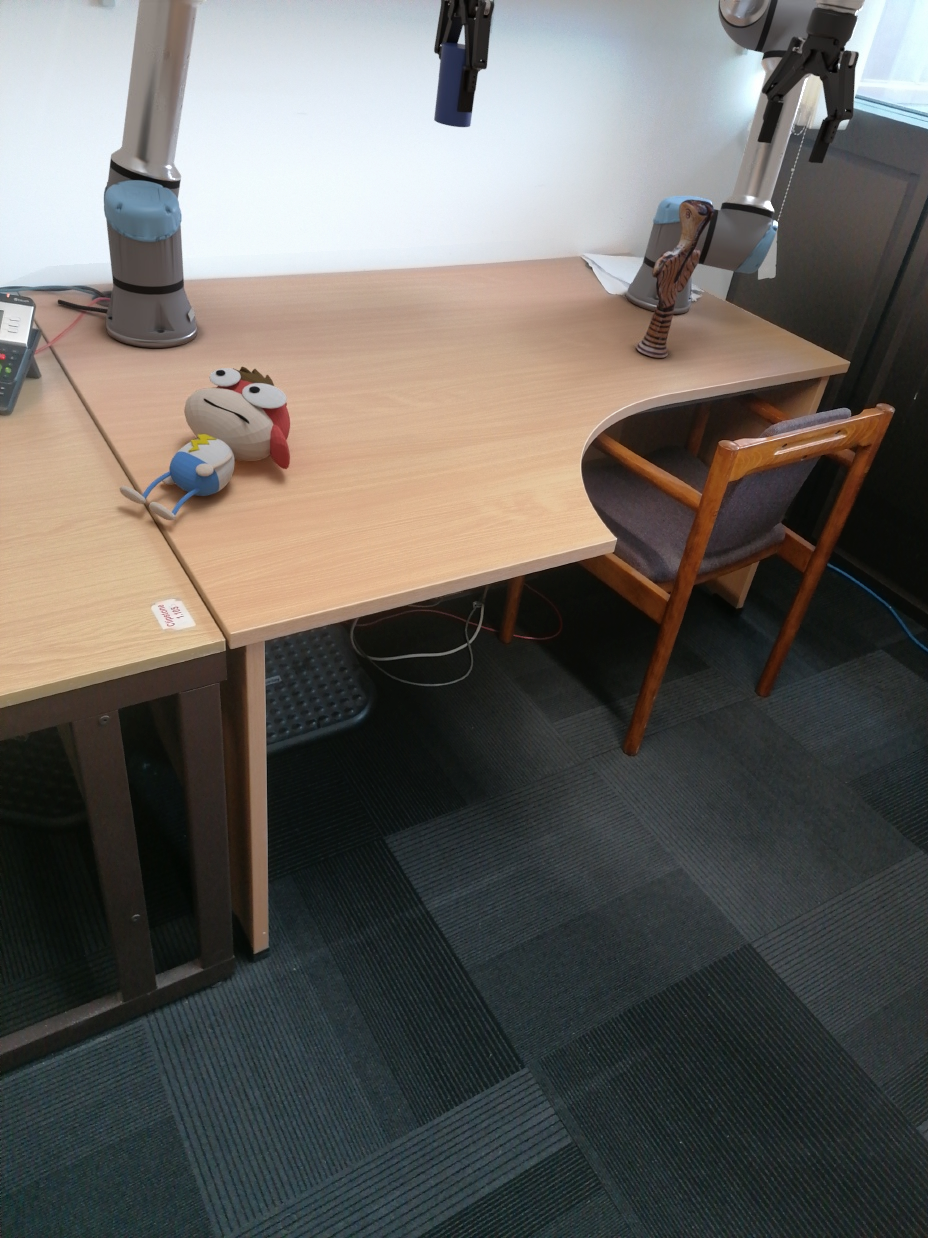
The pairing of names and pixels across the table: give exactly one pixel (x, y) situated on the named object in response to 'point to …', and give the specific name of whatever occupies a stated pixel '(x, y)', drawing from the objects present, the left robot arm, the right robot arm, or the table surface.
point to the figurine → (675, 274)
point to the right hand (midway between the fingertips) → (788, 151)
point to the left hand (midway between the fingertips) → (453, 106)
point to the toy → (225, 435)
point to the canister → (451, 87)
